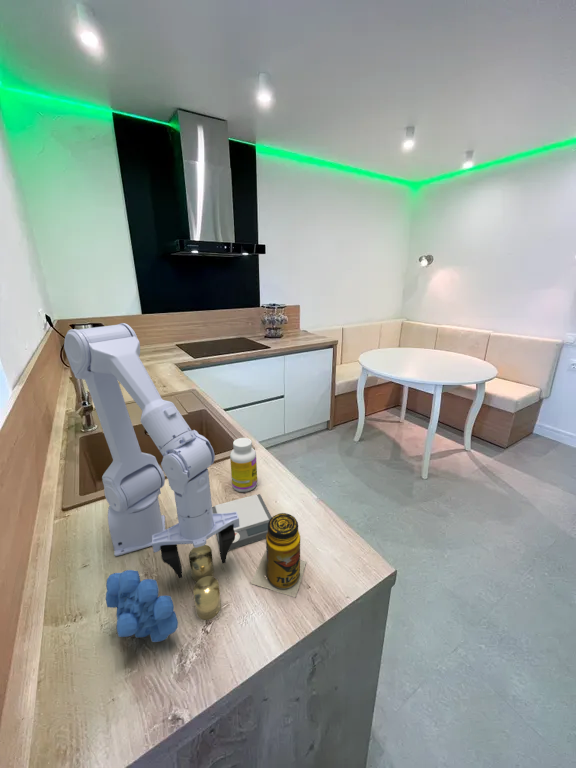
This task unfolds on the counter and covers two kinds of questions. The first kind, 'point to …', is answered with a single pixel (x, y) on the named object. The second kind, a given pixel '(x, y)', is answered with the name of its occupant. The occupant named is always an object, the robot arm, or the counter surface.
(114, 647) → the counter surface
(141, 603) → the grapes
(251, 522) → the scale
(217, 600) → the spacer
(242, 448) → the supplement bottle
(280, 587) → the condiment
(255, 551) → the counter surface
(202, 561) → the cylinder
